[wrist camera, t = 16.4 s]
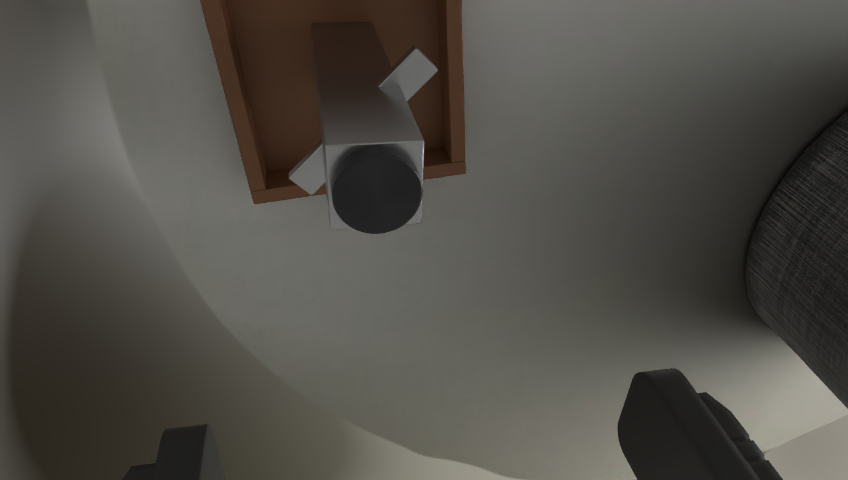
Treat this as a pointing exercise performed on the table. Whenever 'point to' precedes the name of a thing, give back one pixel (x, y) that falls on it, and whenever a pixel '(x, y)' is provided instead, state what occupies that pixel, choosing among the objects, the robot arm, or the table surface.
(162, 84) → the table surface
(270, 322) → the table surface
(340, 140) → the grey square bar
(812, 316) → the planter
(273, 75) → the tray
